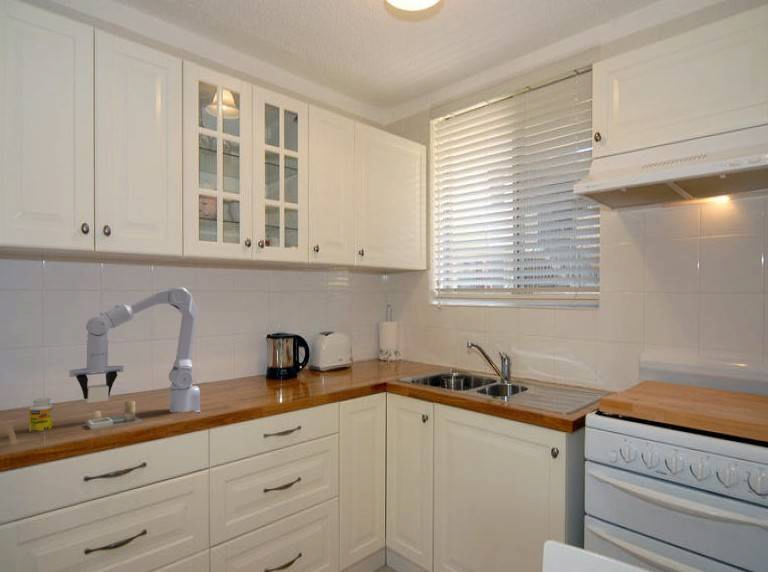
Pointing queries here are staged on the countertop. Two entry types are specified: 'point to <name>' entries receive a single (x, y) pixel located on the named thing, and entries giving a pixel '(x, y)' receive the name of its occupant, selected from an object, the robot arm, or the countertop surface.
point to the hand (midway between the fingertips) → (96, 397)
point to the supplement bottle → (40, 415)
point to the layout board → (106, 421)
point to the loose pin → (129, 411)
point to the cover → (97, 393)
